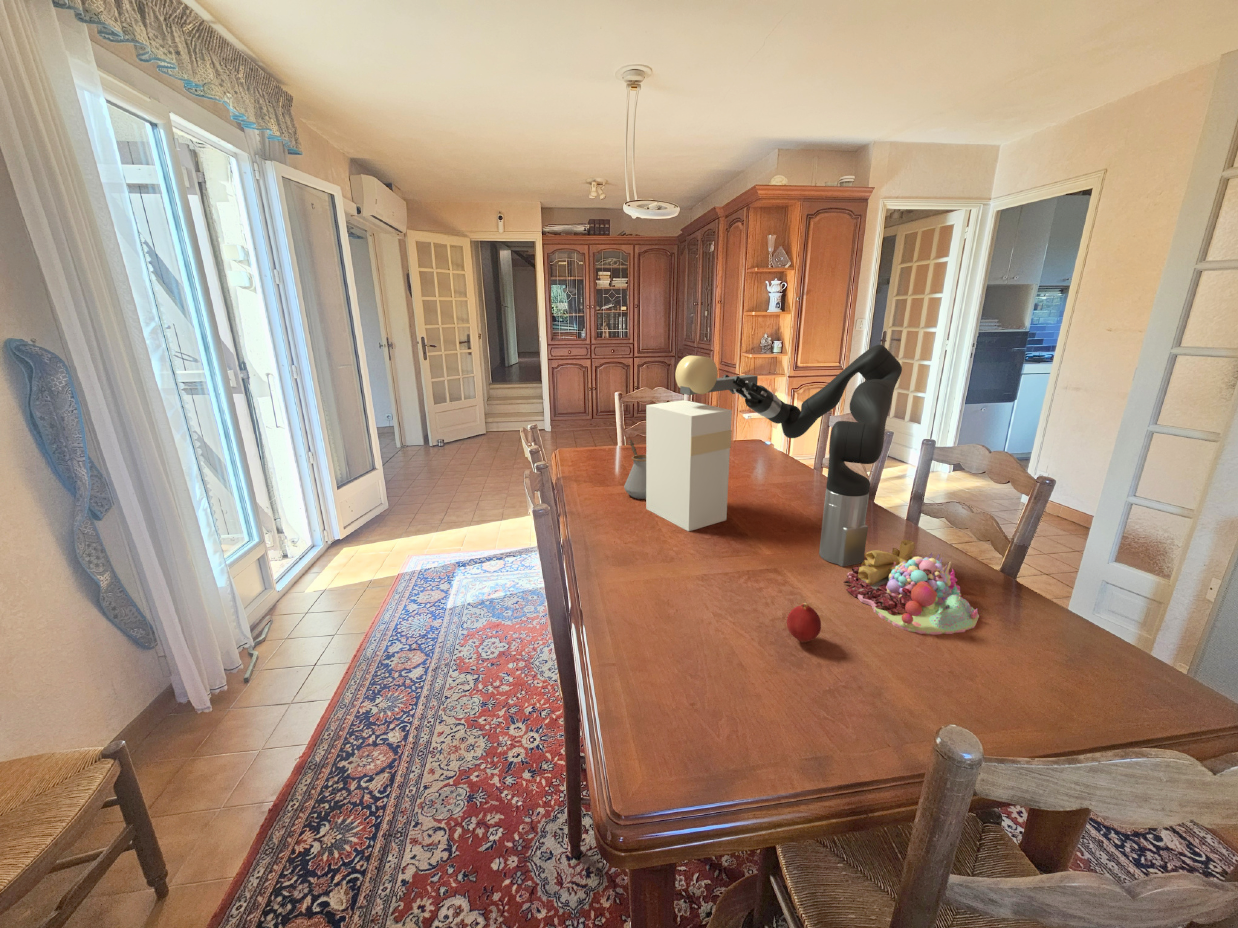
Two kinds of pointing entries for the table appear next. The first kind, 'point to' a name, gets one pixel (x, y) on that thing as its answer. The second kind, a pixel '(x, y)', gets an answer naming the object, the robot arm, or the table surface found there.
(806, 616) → the onion
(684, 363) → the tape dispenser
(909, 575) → the candy landscape model
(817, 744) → the table surface
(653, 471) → the tall box
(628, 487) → the coffee pot
